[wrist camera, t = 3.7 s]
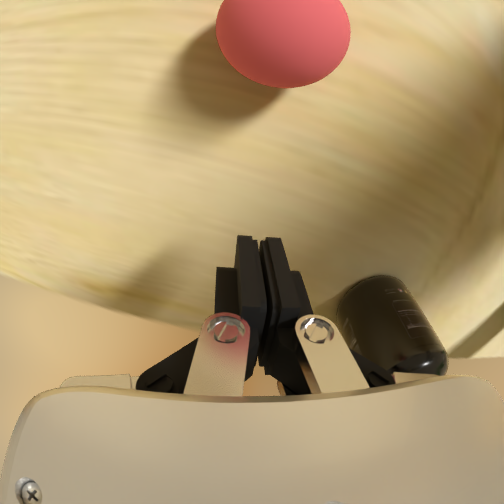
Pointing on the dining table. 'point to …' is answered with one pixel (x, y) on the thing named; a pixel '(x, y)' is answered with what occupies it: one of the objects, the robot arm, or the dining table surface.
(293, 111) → the dining table surface
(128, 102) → the dining table surface
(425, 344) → the supplement bottle
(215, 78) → the dining table surface
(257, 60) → the ball
